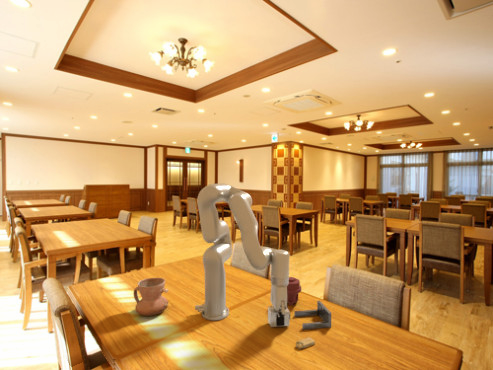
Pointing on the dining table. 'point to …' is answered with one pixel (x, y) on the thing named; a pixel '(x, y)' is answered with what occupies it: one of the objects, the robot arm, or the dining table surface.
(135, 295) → the ceramic jug
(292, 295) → the mechanical component
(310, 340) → the brass key tag
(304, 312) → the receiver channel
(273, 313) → the aluminium block
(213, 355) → the dining table surface
